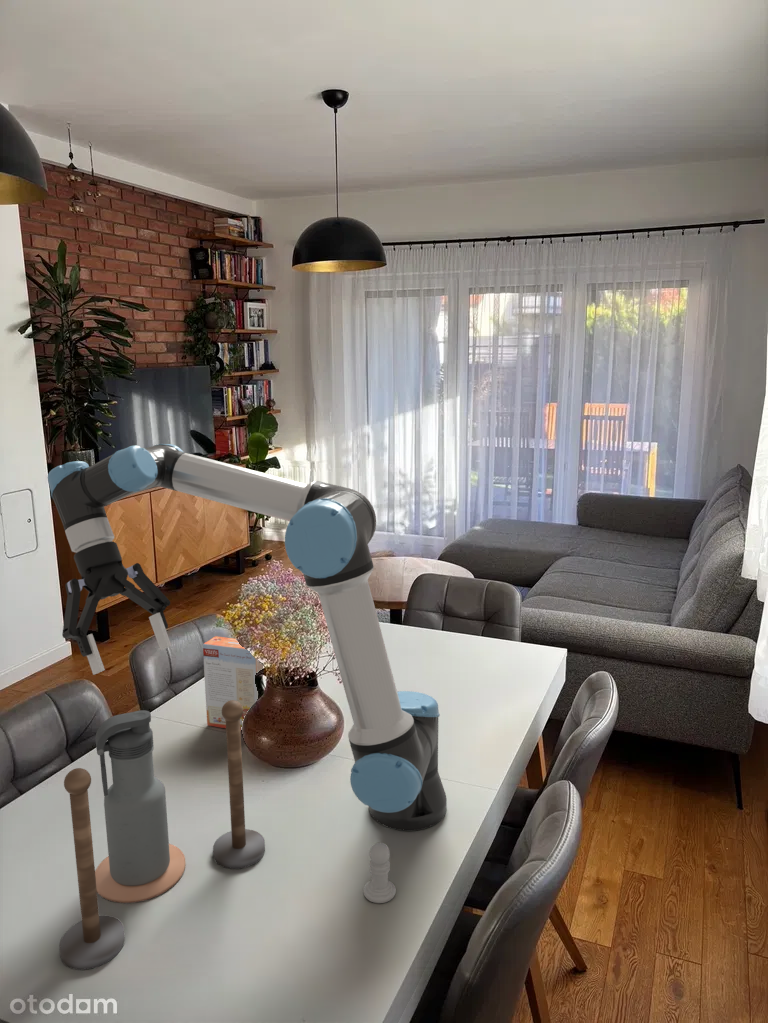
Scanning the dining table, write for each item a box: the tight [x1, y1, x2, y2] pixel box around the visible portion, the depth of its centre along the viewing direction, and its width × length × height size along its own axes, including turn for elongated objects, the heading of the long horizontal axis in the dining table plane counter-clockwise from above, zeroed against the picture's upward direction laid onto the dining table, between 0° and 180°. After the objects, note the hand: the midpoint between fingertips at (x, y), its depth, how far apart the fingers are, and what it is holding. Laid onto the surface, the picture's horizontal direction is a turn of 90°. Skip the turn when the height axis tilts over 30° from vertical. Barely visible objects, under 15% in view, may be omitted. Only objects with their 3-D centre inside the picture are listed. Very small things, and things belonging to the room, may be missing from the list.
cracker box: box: [202, 635, 263, 730], centre depth 179 cm, size 14×6×21 cm, turn 71°
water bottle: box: [94, 709, 170, 886], centre depth 126 cm, size 10×10×28 cm
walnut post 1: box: [59, 767, 126, 971], centre depth 110 cm, size 9×9×29 cm
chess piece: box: [362, 842, 397, 904], centre depth 123 cm, size 5×5×9 cm
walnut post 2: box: [212, 700, 266, 870], centre depth 131 cm, size 9×9×29 cm
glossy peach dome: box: [95, 843, 187, 904], centre depth 129 cm, size 15×15×1 cm
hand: (134, 660), depth 133 cm, fingers open, 13 cm apart
